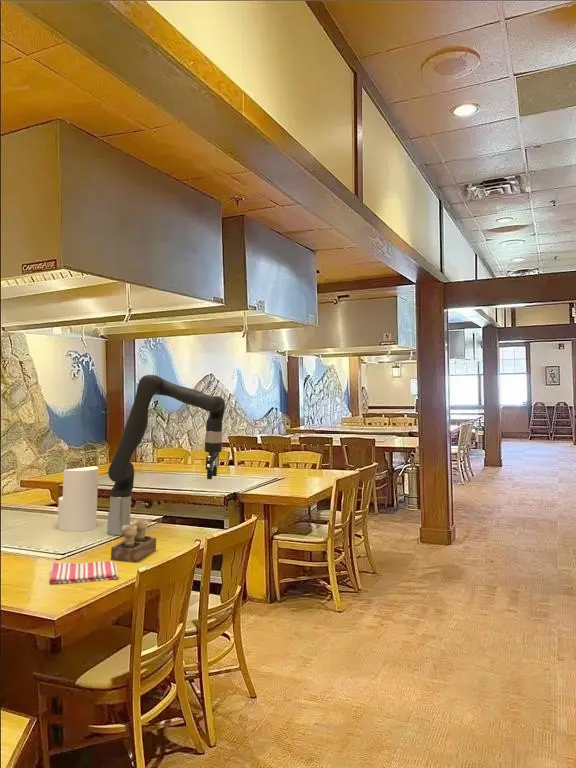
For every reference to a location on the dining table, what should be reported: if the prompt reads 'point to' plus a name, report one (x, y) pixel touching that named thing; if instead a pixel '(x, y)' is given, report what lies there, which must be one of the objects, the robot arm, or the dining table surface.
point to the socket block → (133, 550)
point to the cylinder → (78, 500)
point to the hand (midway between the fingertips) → (211, 477)
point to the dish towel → (82, 572)
